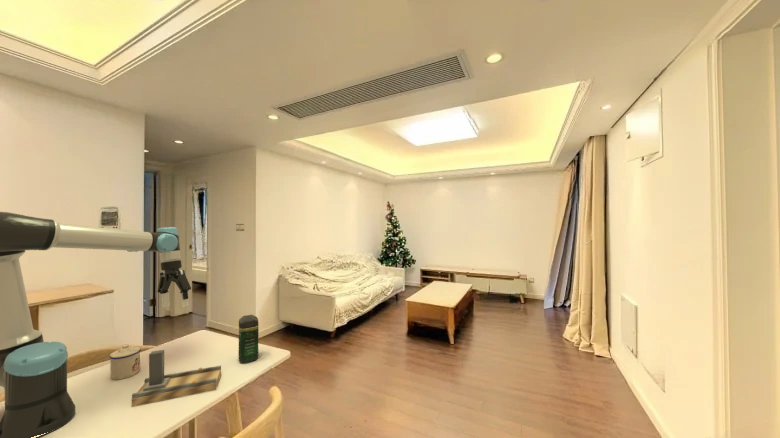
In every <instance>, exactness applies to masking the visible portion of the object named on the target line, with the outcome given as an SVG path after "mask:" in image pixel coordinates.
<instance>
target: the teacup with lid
mask: <svg viewBox="0 0 780 438" xmlns="http://www.w3.org/2000/svg"><path fill="white" fill-rule="evenodd" d="M141 350H142V348H140V346H132V345H130V344H129V343H128V344H123V345H122V347H120V348H119V349H117V350H115V351H113V352H111V354H110V355H109V359H110V362H109V363H110V366H109V367H110V379H111V380H115V381H116V380H124V379H127V378H130V377H132V376H135V375H136V374H138V373H139V372H140V370H141Z"/></svg>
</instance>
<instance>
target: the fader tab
mask: <svg viewBox="0 0 780 438" xmlns="http://www.w3.org/2000/svg"><path fill="white" fill-rule="evenodd" d="M148 360H149V361H148V378H149V382H148V383H147V385H146V386H145V387H144V388H143V392H144V391H149V390H154V389H160V388H165V386H166V385H167V383H168V382H169V380H170V377H169V378H164V375H165V349H160V350H154V351H151V352H150V353H149V354H148Z"/></svg>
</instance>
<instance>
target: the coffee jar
mask: <svg viewBox="0 0 780 438" xmlns="http://www.w3.org/2000/svg"><path fill="white" fill-rule="evenodd" d="M259 330H260V329H259V318H258V317H257V316H256V315H254V314H248V315H247V314H246V315H243V316H241V317H240V318H239V320H238V361H239V362H240V363H251V362H253V361H255V360H257V359H258V358H259V336H260V335H259Z"/></svg>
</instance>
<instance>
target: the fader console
mask: <svg viewBox="0 0 780 438" xmlns="http://www.w3.org/2000/svg"><path fill="white" fill-rule="evenodd" d="M221 376H222V365H216V366H210V367H204V368H202V367H200V368H198V369H192V370H187V371H182V372H181V371H180V372H175V373H169V374H164V378H169V377H170V380H169V382H168V383H167V385H166V386H165V388H160V389H154V390H149V391H144V392H143V388H144V387H145V386H146V385H147V383H148V382H149V377H146V378H145V379H144V383H143V384H142V386H141V387H140V388H139V389H138V390H137V392H134V393H132V395H131V407H136V406H143V405H147V404H151V403H156V402H162V401H166V400H172V399H177V398H182V397H187V396H192V395H196V394H203V393H207V392H211V391H212V392H213V391H216V390H217V387H218V385H219V381H220V379H221Z"/></svg>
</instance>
